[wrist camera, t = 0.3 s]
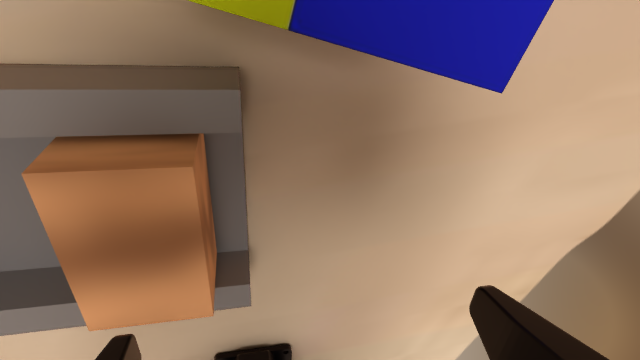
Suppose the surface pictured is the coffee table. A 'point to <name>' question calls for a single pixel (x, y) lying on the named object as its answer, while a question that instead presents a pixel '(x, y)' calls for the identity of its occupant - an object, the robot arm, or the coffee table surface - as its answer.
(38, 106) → the chute
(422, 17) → the puzzle toy
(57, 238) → the orange block
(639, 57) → the coffee table surface
